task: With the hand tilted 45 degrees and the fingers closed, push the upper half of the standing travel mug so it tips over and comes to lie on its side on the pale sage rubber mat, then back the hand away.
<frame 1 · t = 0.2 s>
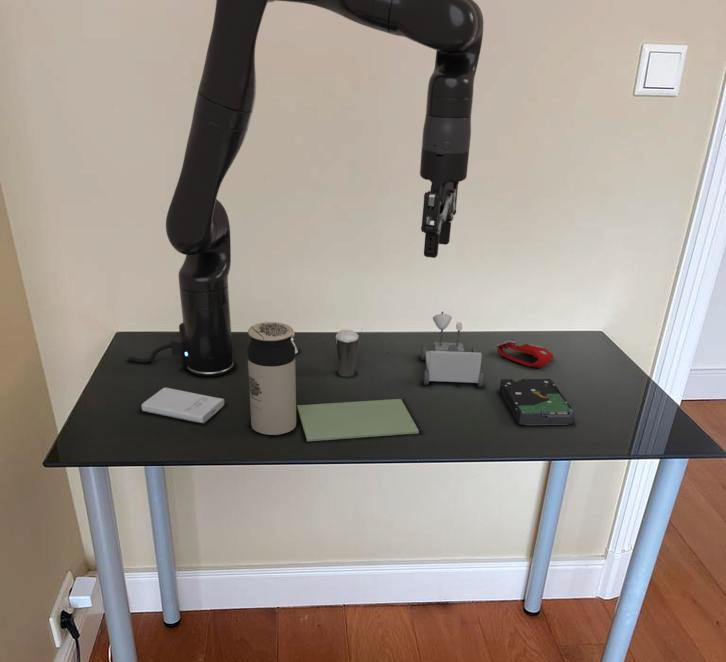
hand: (436, 250, 129), 29 cm above the table, tool pointing down, fingers open, 8 cm apart
travel mug: (273, 426, 136), on the table
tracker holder: (524, 359, 165), on the table
chess pawn: (291, 353, 164), on the table
toy car: (449, 370, 159), on the table
disk drive: (534, 408, 145), on the table
hard drive: (183, 409, 140), on the table
milkshake: (348, 374, 155), on the table
mat: (356, 420, 138), on the table
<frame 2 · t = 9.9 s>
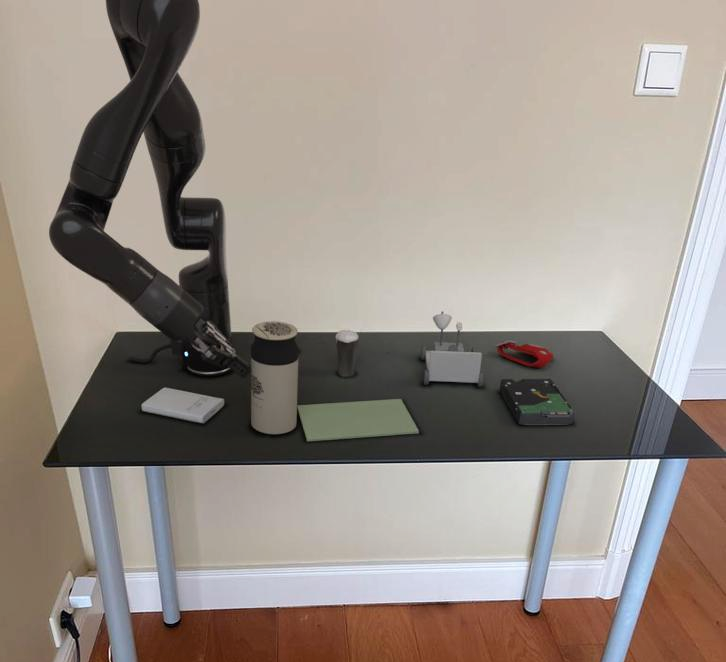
hand: (247, 372, 129), 11 cm above the table, tool tilted 45°, fingers closed
travel mug: (273, 426, 136), on the table, touching gripper
everything else where it was.
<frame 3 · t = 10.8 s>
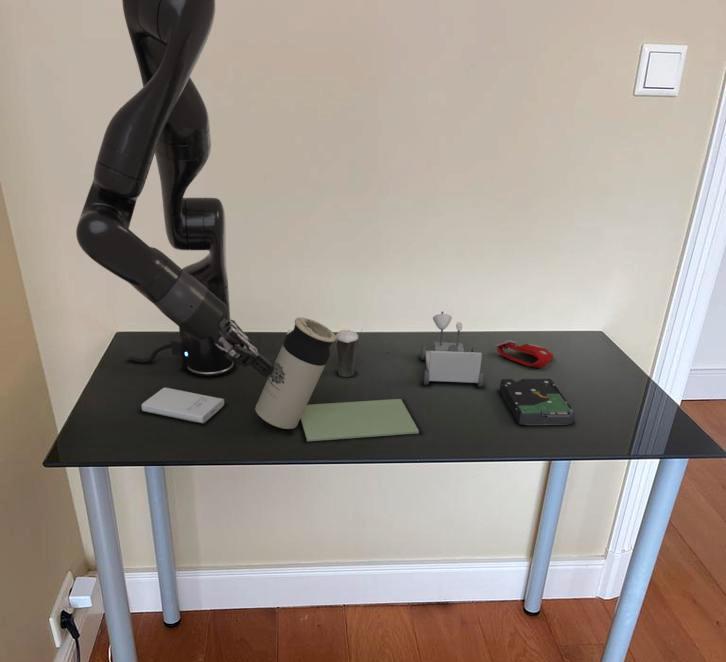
hand: (269, 371, 130), 11 cm above the table, tool tilted 45°, fingers closed
travel mug: (275, 418, 135), point 1 cm above the table
everything else where it was.
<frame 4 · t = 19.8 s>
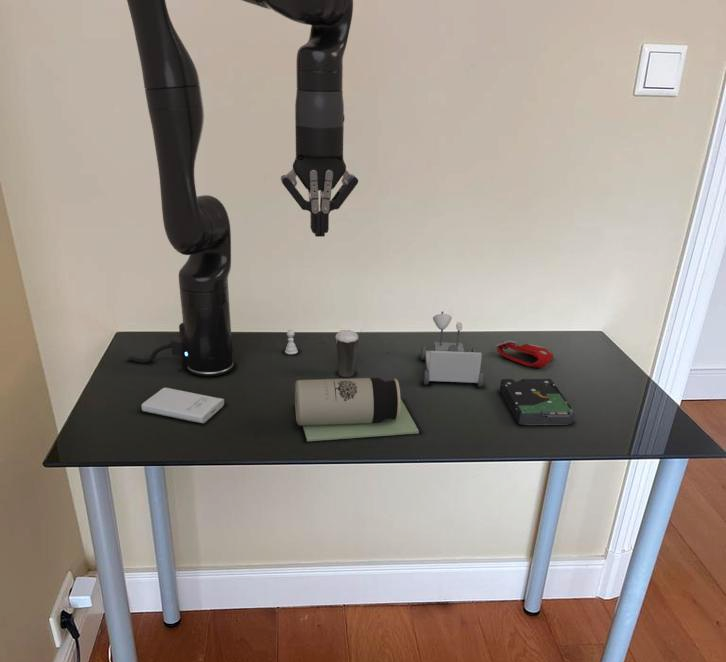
hand: (319, 235, 128), 31 cm above the table, tool pointing down, fingers closed
travel mug: (294, 403, 134), point 4 cm above the table, touching mat
everything else where it was.
at the end: travel mug tilted 90°; travel mug touching mat; travel mug moved 5.9 cm from its start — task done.
